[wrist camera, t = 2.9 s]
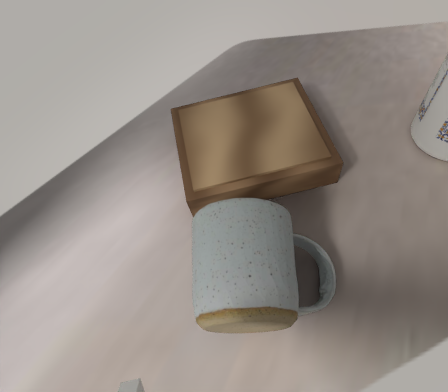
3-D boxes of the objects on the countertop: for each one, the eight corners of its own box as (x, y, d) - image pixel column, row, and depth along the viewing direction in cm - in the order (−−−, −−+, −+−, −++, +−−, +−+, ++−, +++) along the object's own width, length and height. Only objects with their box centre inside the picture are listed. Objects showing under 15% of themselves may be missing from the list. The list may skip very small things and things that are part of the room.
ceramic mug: (202, 340, 24) (179, 321, 18) (201, 241, 28) (183, 197, 22) (343, 332, 23) (374, 309, 17) (321, 231, 28) (338, 182, 21)
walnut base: (193, 217, 30) (185, 199, 27) (177, 128, 36) (170, 106, 33) (337, 182, 30) (344, 160, 27) (295, 99, 36) (297, 75, 33)
